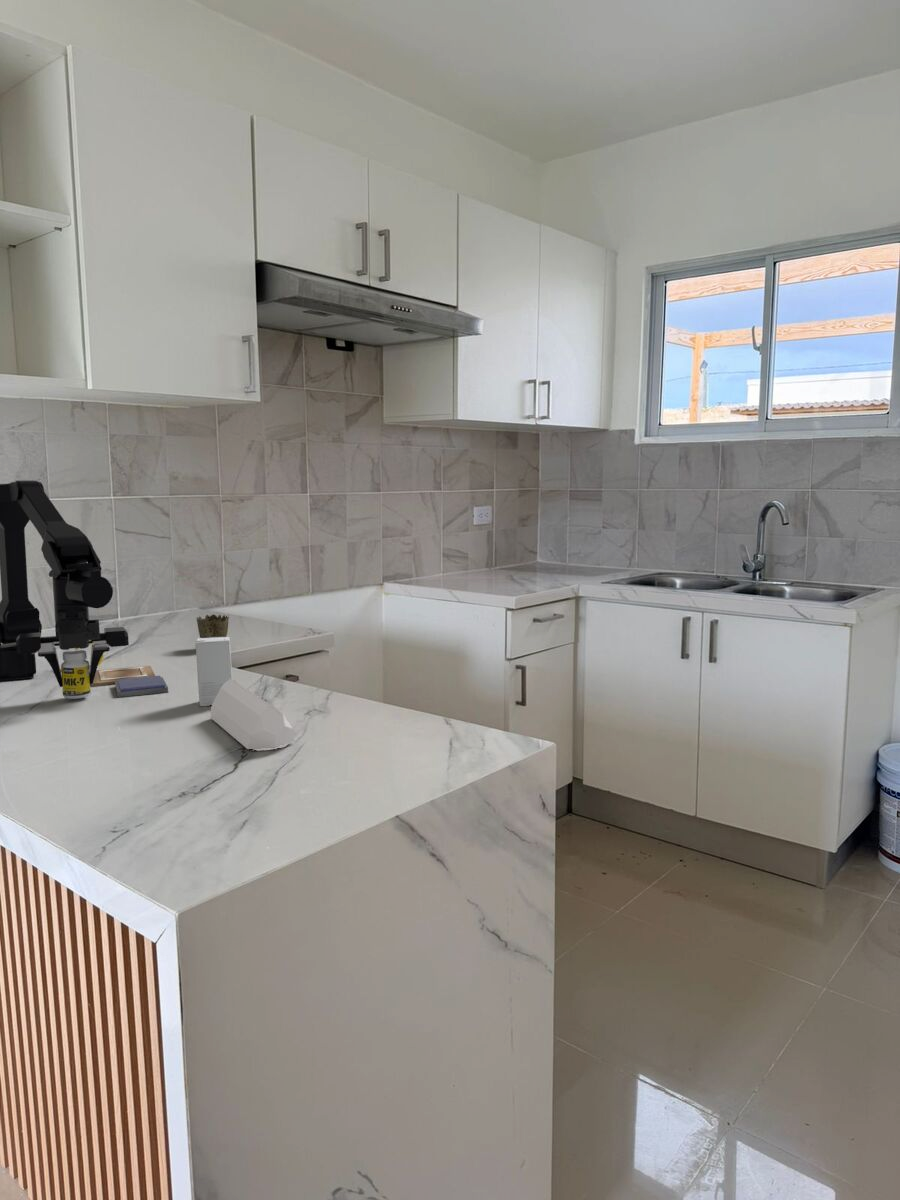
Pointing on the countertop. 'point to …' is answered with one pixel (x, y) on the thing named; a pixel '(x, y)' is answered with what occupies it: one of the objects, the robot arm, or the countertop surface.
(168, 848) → the countertop surface
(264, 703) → the crystal
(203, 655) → the skincare box
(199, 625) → the cup
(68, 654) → the supplement bottle
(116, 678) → the marked board
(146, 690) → the ink pad
